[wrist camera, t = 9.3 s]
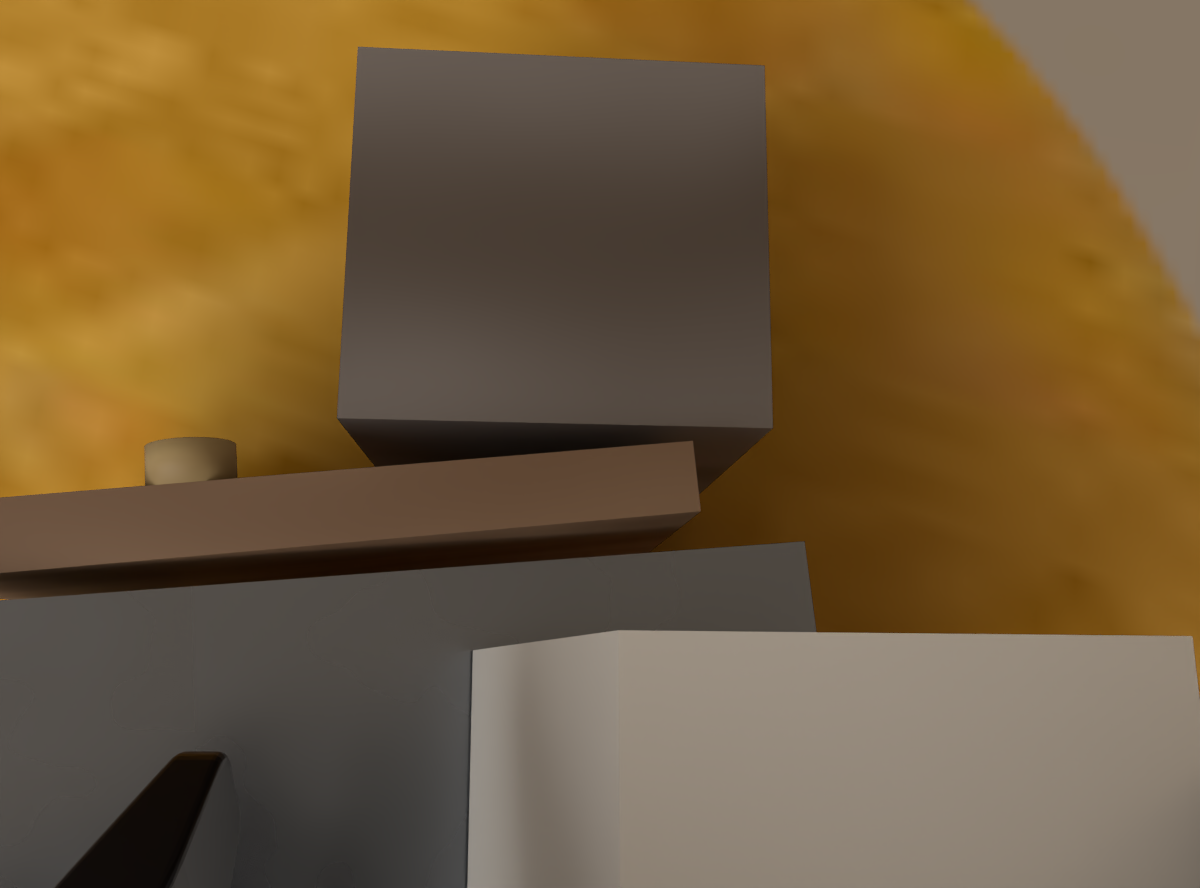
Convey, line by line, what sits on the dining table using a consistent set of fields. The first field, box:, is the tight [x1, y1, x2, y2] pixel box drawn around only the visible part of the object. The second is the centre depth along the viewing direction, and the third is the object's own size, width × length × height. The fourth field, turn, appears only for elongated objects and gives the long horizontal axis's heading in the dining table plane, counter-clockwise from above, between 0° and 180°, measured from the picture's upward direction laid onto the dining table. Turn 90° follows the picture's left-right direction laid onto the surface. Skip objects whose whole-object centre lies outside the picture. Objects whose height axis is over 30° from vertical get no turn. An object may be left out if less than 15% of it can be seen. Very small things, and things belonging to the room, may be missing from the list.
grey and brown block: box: [0, 541, 816, 888], centre depth 17 cm, size 8×12×6 cm, turn 96°
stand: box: [337, 47, 773, 494], centre depth 20 cm, size 6×6×7 cm
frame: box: [0, 437, 701, 600], centre depth 17 cm, size 12×11×8 cm
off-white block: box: [467, 630, 1200, 888], centre depth 12 cm, size 5×6×7 cm
